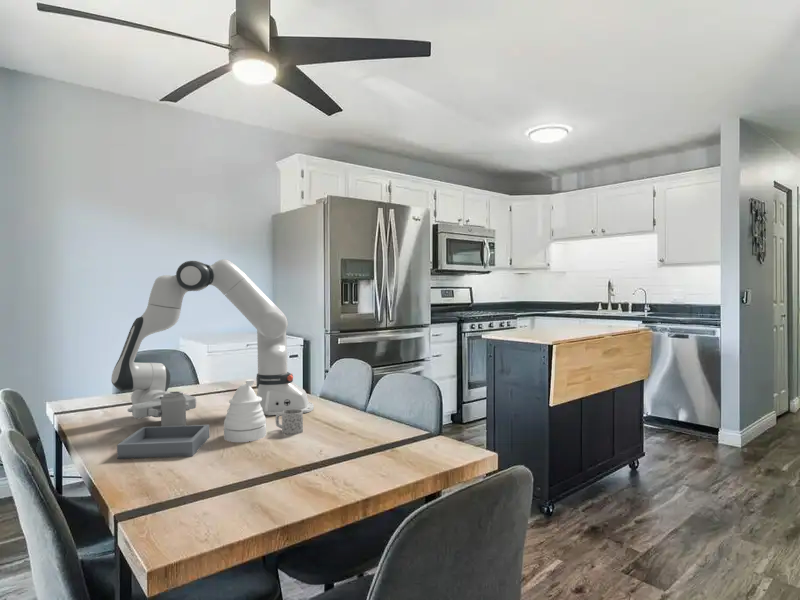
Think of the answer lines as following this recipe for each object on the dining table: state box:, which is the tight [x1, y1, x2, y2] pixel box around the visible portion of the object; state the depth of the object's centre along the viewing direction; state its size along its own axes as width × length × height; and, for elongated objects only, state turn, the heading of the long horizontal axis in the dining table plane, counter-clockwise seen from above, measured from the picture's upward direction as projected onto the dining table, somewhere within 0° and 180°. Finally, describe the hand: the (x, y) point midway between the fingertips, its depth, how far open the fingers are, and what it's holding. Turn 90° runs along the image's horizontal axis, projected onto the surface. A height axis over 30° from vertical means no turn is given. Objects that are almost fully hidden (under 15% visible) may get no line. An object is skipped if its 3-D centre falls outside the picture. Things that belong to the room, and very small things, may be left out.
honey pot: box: [223, 379, 267, 443], centre depth 162 cm, size 13×13×18 cm
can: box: [160, 392, 187, 426], centre depth 169 cm, size 8×8×12 cm
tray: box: [116, 424, 211, 460], centre depth 151 cm, size 20×18×4 cm
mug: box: [275, 409, 304, 436], centre depth 167 cm, size 10×7×7 cm, turn 65°
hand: (173, 410), depth 169 cm, fingers open, 8 cm apart
